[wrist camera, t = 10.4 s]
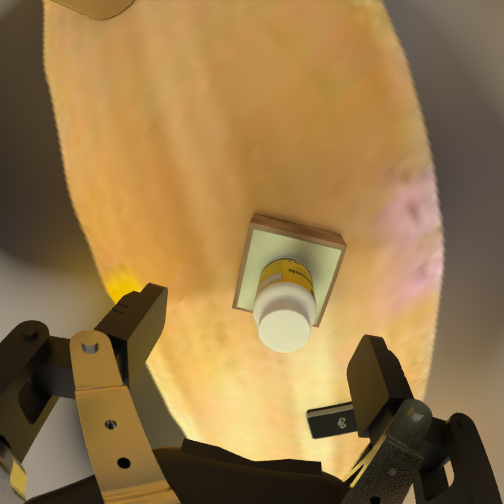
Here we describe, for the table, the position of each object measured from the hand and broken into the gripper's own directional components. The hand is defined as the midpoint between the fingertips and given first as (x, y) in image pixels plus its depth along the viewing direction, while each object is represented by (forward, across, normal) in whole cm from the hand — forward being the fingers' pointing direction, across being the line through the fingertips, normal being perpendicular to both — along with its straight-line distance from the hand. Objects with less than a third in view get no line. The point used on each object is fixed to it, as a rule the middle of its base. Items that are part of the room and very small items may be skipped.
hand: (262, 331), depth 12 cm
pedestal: (+23, -3, +6) cm, 24 cm away
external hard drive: (+23, -20, +30) cm, 43 cm away
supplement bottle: (+19, -3, +6) cm, 20 cm away
